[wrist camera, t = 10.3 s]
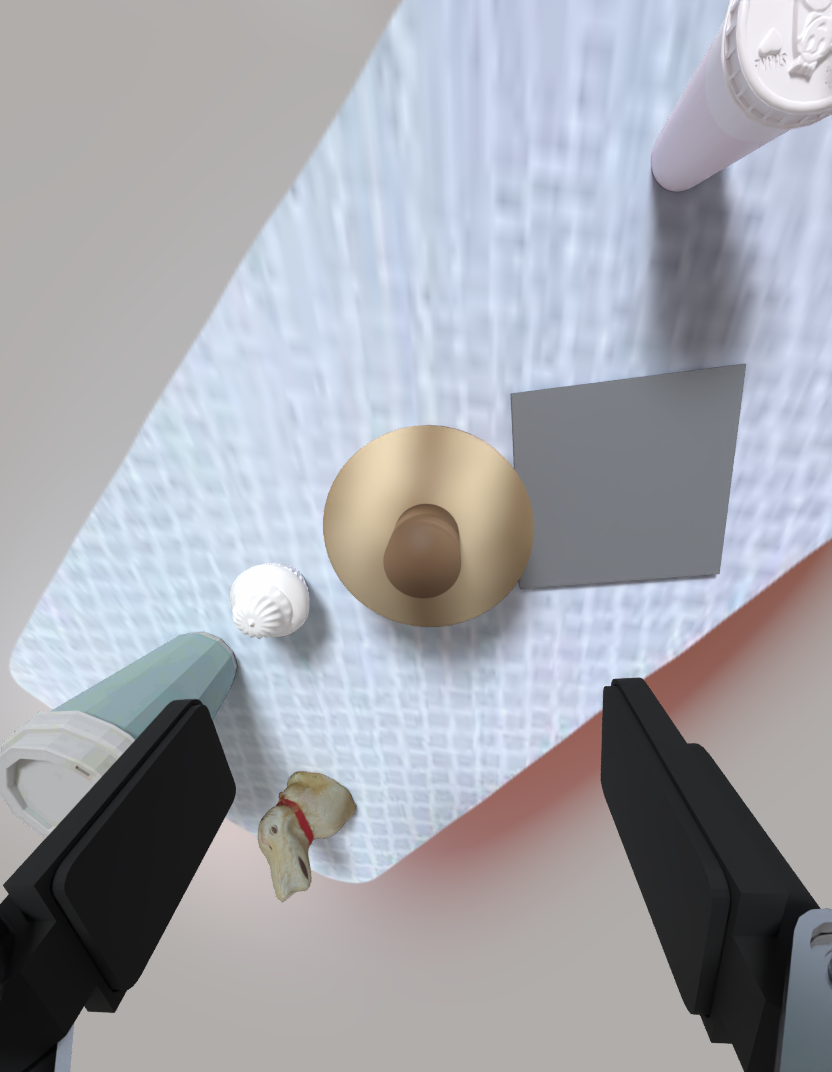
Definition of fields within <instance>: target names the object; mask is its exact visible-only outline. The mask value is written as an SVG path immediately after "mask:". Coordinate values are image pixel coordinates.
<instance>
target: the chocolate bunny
mask: <svg viewBox="0 0 832 1072" xmlns="http://www.w3.org/2000/svg"><path fill="white" fill-rule="evenodd" d="M279 798H280V799H279V802H278V803H277V805H276V806H275V807H273V808H271V809H270V810H269V811H268V812H267V813H266V814H265V816H264V817H263V818H262V819H261V821H260V824H259V828H258V843H259V847H260V849H261V851H262V853H263V854H264V855H265V857H266V858H267V861H268V863H269V865H270V868H271V876H272V881H273V886H274V889H275V893H276V897H277V898H278V899H279V900H280V901H281V902H284V901H285V900H286V899H288V898H289V897H290V896H292V895H293V894H294V893H295V892H298V891H306V890H307V889H308V888H309V887H310V883H311V869H310V863H309V857H308V849H309V846H310V845H311V843H312V841H313V840H314V839H316V838H318V839H325V838H328V837H331V836H333V835H334V834H335V833H336V832H338V831H339V830H340V829H341V828H342V826H343V825H344V823H345V822H346V821H347V820H349V819H350V818H351V817H352V816H353V815H354V813H355V809H356V804H355V803H354V802H353V800H352V798H351V794H350V793H349V791H348V790H347V788H345V787H344V786H341V785H340V784H339V783H338V782H336V781H335V780H334V779H331V778H329V777H327V776H325V775H323V774H320V773H311V772H307V771H302V772H295V773H294V774H293V775H292V776H291V777H290V778H289V780H288V783H287V788H286V789H285V790H284V792H280V793H279Z"/></svg>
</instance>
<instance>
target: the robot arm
mask: <svg viewBox="0 0 832 1072" xmlns="http://www.w3.org/2000/svg"><path fill="white" fill-rule="evenodd" d="M601 753H602V754H601V784H602V789H603V793H604V796H605V799H606V802H607V804H608V807H609V809H610V812H611V815H612V817H613V820H614V822H615V825H616V827H617V830H618V833H619V835H620V838H621V841H622V843H623V846H624V848H625V851H626V854H627V856H628V859H629V861H630V864H631V867H632V869H633V872H634V875H635V877H636V880H637V882H638V885H639V888H640V890H641V893H642V895H643V898H644V901H645V903H646V906H647V908H648V911H649V913H650V916H651V919H652V921H653V924H654V927H655V929H656V932H657V934H658V937H659V940H660V942H661V945H662V947H663V950H664V953H665V955H666V958H667V961H668V963H669V966H670V968H671V971H672V974H673V976H674V979H675V981H676V984H677V986H678V989H679V992H680V994H681V997H682V999H683V1001H684V1004H685V1006H686V1007H687V1009H688V1011H689V1012H690V1013H691V1014H694V1015H695V1014H696V1015H700V1016H701V1018H702V1021H703V1024H704V1026H705V1029H706V1031H707V1033H708V1036H709V1038H710V1041H711V1043H728V1044H729V1043H730V1044H733V1047H734V1049H735V1051H736V1054H737V1056H738V1058H739V1061H740V1063H741V1065H742V1068H743V1070H744V1072H832V909H829V908H825V909H820V907H819V906H818V904H817V903H816V902H815V900H814V899H813V897H812V896H811V895H810V893H809V892H808V891H807V889H806V888H805V886H804V885H803V884H802V882H801V881H800V879H799V878H798V877H797V875H796V874H795V872H794V871H793V870H792V868H791V867H790V865H789V864H788V863H787V861H786V860H785V859H784V857H783V856H782V854H781V853H780V852H779V850H778V849H777V847H776V846H775V845H774V843H773V842H772V841H771V839H770V838H769V837H768V835H767V834H766V832H765V831H764V829H763V828H762V827H761V825H760V824H759V823H758V821H757V820H756V818H755V817H754V815H753V814H752V813H751V811H750V810H749V809H748V807H747V806H746V804H745V803H744V802H743V800H742V799H741V798H740V796H739V795H738V793H737V792H736V790H735V789H734V788H733V786H732V785H731V784H730V782H729V781H728V779H727V778H726V777H725V775H724V774H723V772H722V771H721V770H720V768H719V767H718V765H717V764H716V763H715V761H714V760H713V759H712V757H711V756H710V755H709V753H708V752H707V751H706V750H705V749H704V747H702V746H700V745H699V744H695V743H691V744H687V743H686V741H685V740H684V738H683V737H682V735H681V734H680V732H679V731H678V729H677V728H676V726H675V725H674V723H673V722H672V720H671V719H670V717H669V716H668V715H667V713H666V712H665V710H664V709H663V707H662V706H661V704H660V703H659V701H658V700H657V698H656V697H655V695H654V694H653V692H652V691H651V689H650V688H649V687H648V685H647V684H646V682H645V681H644V680H643V679H642V678H622V679H613V680H612V683H611V686H605V687H604V690H603V717H602V752H601ZM235 793H236V786H235V782H234V779H233V777H232V774H231V771H230V768H229V765H228V763H227V760H226V757H225V754H224V751H223V749H222V746H221V743H220V740H219V737H218V735H217V732H216V729H215V726H214V723H213V721H212V718H211V715H210V712H209V709H208V708H207V706H206V705H203V703H202V702H201V701H200V700H199V699H182V700H173V701H171V702H170V703H169V704H168V705H167V706H166V707H165V708H164V709H163V710H162V711H161V712H160V713H159V714H158V716H157V717H156V718H155V719H154V720H153V721H152V722H151V723H150V724H149V725H148V727H147V728H146V729H145V730H144V731H143V732H142V733H141V734H140V735H139V736H138V738H137V739H136V740H135V741H134V742H133V743H132V744H131V745H130V746H129V747H128V749H127V750H126V751H125V752H124V753H123V754H122V755H121V756H120V757H119V758H118V759H117V761H116V762H115V763H114V764H113V765H112V766H111V767H110V768H109V769H108V770H107V772H106V773H105V774H104V775H103V776H102V777H101V778H100V779H99V780H98V781H97V783H96V784H95V785H94V786H93V787H92V788H91V789H90V790H89V791H88V792H87V794H86V795H85V796H84V797H83V798H82V799H81V800H80V801H79V802H78V803H77V804H76V806H75V807H74V808H73V809H72V810H71V811H70V812H69V813H68V814H67V815H66V817H65V818H64V819H63V820H62V821H61V822H60V823H59V824H58V825H57V826H56V828H55V829H54V830H53V831H52V832H51V833H50V834H49V835H48V836H47V837H46V839H45V840H44V841H43V842H42V843H41V844H40V845H39V846H38V847H37V849H36V850H35V851H34V852H33V853H32V854H31V855H30V856H29V857H28V858H27V860H25V862H24V863H23V864H22V865H21V866H20V867H19V868H18V869H17V870H16V872H15V873H14V874H13V875H12V876H11V877H10V878H9V879H8V880H7V881H6V882H5V884H4V885H3V886H4V888H5V889H6V891H7V892H8V894H9V895H8V896H7V897H6V898H5V899H4V900H3V902H2V903H1V904H0V1072H70V1067H71V1055H72V1042H73V1029H74V1022H75V1020H76V1019H77V1017H78V1015H79V1014H80V1012H81V1010H82V1009H83V1007H84V1006H85V1008H86V1009H87V1011H90V1012H109V1013H114V1012H115V1011H116V1009H117V1008H118V1006H119V1004H120V1002H121V1000H122V998H123V997H124V995H125V993H126V991H127V990H129V989H130V988H131V987H133V986H134V984H135V983H136V982H137V981H138V979H139V978H140V976H141V974H142V972H143V970H144V969H145V967H146V965H147V963H148V961H149V959H150V957H151V955H152V954H153V952H154V950H155V948H156V946H157V944H158V942H159V940H160V939H161V937H162V935H163V933H164V931H165V929H166V927H167V925H168V924H169V921H170V920H171V918H172V916H173V914H174V912H175V910H176V908H177V907H178V905H179V903H180V901H181V899H182V897H183V895H184V893H185V892H186V890H187V888H188V886H189V884H190V882H191V880H192V878H193V876H194V875H195V873H196V871H197V869H198V867H199V865H200V863H201V862H202V859H203V858H204V856H205V854H206V852H207V850H208V848H209V846H210V844H211V843H212V841H213V839H214V837H215V835H216V833H217V831H218V829H219V828H220V826H221V824H222V822H223V820H224V818H225V816H226V815H227V813H228V811H229V809H230V807H231V805H232V803H233V801H234V798H235Z"/></svg>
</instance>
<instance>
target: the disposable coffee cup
mask: <svg viewBox="0 0 832 1072" xmlns="http://www.w3.org/2000/svg"><path fill="white" fill-rule="evenodd" d="M236 668H237V664H236V661H235V658H234V654H233V651H232V650H231V649H230V648H229V647H228V646H227V645H226V644H225V643H224V642H223V641H222V640H221V639H220V638H217V637H215V636H213V635H210V634H208V633H205V632H196V633H187V634H184V635H179V636H178V637H176V638H174V639H173V640H171V641H169V642H167V643H166V644H164V645H162V646H161V647H159V648H157V649H156V650H154V651H152V652H150V653H149V654H147V655H145V656H144V657H142V658H140V659H139V660H137V661H135V662H133V663H132V664H130V665H128V666H127V667H125V668H123V669H121V670H120V671H118V672H116V673H115V674H113V675H111V676H110V677H108V678H106V679H104V680H103V681H101V682H99V683H98V684H96V685H94V686H92V687H91V688H89V689H87V690H86V691H84V692H82V693H81V694H79V695H77V696H75V697H74V698H72V699H70V700H69V701H67V702H65V703H63V704H62V705H60V706H58V707H57V708H55V709H53V710H52V711H50V712H38V713H37V714H36V715H34V716H33V717H32V718H30V719H29V720H28V721H27V722H25V723H24V724H23V725H22V726H20V727H19V728H18V729H17V730H15V731H14V734H13V735H12V736H11V737H9V738H8V739H7V740H6V741H4V742H3V743H2V745H1V752H0V795H1V796H2V798H3V799H4V801H5V802H6V804H7V805H8V807H9V808H10V810H11V812H12V813H13V814H14V815H15V816H16V817H18V818H19V819H20V820H22V821H23V822H24V823H25V824H27V825H28V826H29V827H30V828H32V829H33V830H35V831H36V832H37V833H38V834H40V835H41V836H42V837H43V838H46V837H47V836H48V835H49V834H50V833H51V832H52V831H53V830H54V829H55V828H56V826H57V825H58V824H59V823H60V822H61V821H62V820H63V819H64V818H65V817H66V815H67V814H68V813H69V812H70V811H71V810H72V809H73V808H74V807H75V806H76V804H77V803H78V802H79V801H80V800H81V799H82V798H83V797H84V796H85V795H86V794H87V792H88V791H89V790H90V789H91V788H92V787H93V786H94V785H95V784H96V783H97V781H98V780H99V779H100V778H101V777H102V776H103V775H104V774H105V773H106V772H107V770H108V769H109V768H110V767H111V766H112V765H113V764H114V763H115V762H116V761H117V759H118V758H119V757H120V756H121V755H122V754H123V753H124V752H125V751H126V750H127V749H128V747H129V746H130V745H131V744H132V743H133V742H134V741H135V740H136V739H137V738H138V736H139V735H140V734H141V733H142V732H143V731H144V730H145V729H146V728H147V727H148V725H149V724H150V723H151V722H152V721H153V720H154V719H155V718H156V717H157V716H158V714H159V713H160V712H161V711H162V710H163V709H164V708H165V707H166V706H167V705H168V704H169V703H170V702H171V701H173V700H182V699H199V700H200V701H201V702H202V703H203V705H206V706H207V708H208V709H209V712H210V715H211V718H212V721H213V719H214V717H215V715H216V713H217V712H218V710H219V708H220V706H221V704H222V703H223V701H224V699H225V697H226V695H227V693H228V692H229V690H230V688H231V686H232V683H233V680H234V677H235V674H236Z"/></svg>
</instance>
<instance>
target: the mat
mask: <svg viewBox="0 0 832 1072" xmlns="http://www.w3.org/2000/svg"><path fill="white" fill-rule="evenodd" d="M745 369H746V364H740V365H732V366H724V367H716V368H708V369H700V370H692V371H685V372H677V373H669V374H661V375H653V376H645V377H637V378H630V379H622V380H614V381H606V382H598V383H590V384H582V385H575V386H567V387H559V388H551V389H543V390H535V391H527V392H520V393H512V394H511V410H512V433H513V455H514V470H515V471H516V472H517V474H518V476H519V477H520V479H521V481H522V482H523V484H524V486H525V488H526V491H527V493H528V496H529V498H530V502H531V506H532V510H533V518H534V540H533V546H532V551H531V554H530V557H529V561H528V564H527V566H526V568H525V570H524V572H523V574H522V576H521V577H520V579H519V586H520V589H523V588H537V587H550V586H564V585H577V584H591V583H604V582H618V581H631V580H645V579H658V578H672V577H685V576H699V575H712V574H720V566H721V558H722V550H723V542H724V534H725V527H726V519H727V511H728V503H729V495H730V487H731V479H732V471H733V464H734V456H735V448H736V440H737V432H738V424H739V416H740V408H741V401H742V393H743V385H744V377H745Z"/></svg>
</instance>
